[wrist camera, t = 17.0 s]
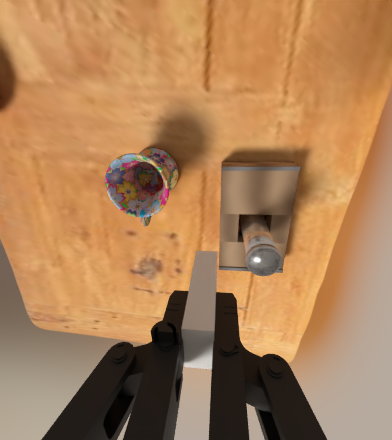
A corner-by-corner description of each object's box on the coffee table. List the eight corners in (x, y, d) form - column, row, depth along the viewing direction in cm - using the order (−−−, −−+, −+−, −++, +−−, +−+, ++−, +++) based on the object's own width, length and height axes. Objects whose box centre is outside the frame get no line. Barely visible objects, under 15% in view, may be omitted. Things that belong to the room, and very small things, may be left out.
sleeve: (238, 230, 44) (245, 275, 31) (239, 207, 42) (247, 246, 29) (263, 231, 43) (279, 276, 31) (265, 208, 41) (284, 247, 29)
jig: (219, 257, 47) (219, 269, 43) (221, 162, 39) (221, 166, 35) (277, 259, 46) (282, 272, 42) (292, 161, 38) (300, 166, 34)
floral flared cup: (129, 144, 39) (100, 152, 30) (181, 146, 38) (167, 155, 29) (135, 206, 44) (112, 231, 35) (181, 209, 43) (170, 235, 34)
